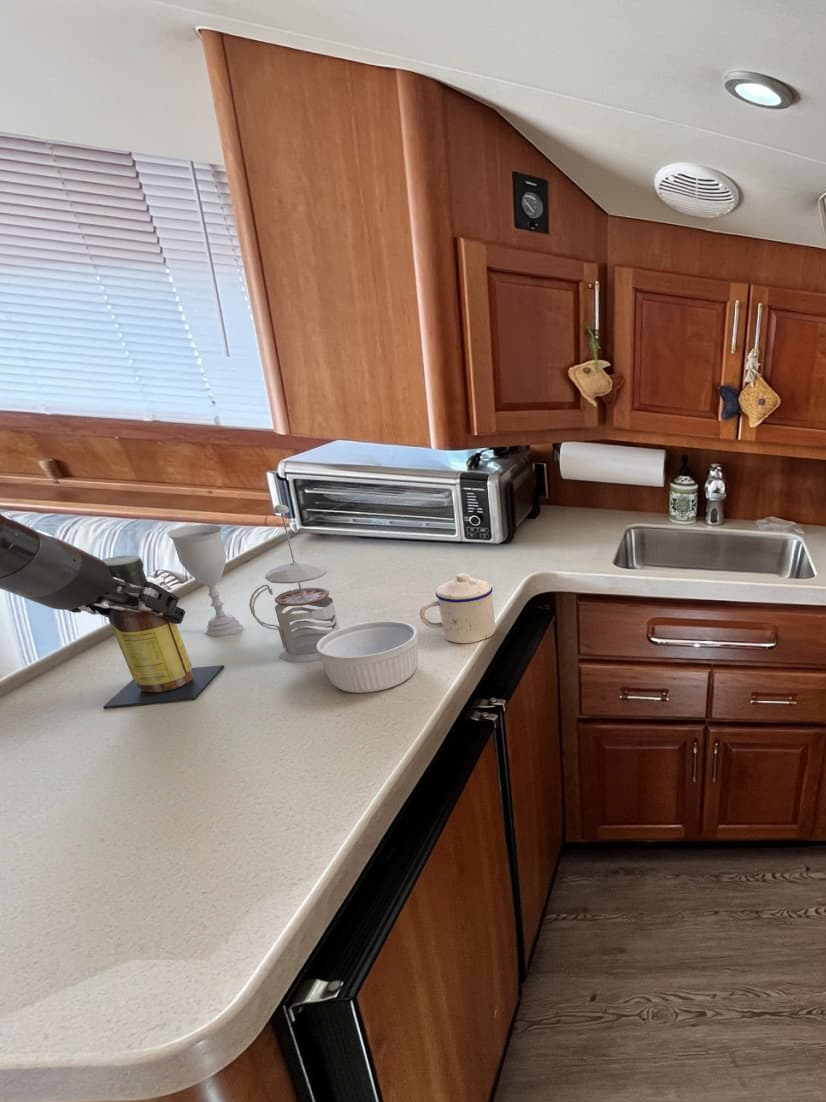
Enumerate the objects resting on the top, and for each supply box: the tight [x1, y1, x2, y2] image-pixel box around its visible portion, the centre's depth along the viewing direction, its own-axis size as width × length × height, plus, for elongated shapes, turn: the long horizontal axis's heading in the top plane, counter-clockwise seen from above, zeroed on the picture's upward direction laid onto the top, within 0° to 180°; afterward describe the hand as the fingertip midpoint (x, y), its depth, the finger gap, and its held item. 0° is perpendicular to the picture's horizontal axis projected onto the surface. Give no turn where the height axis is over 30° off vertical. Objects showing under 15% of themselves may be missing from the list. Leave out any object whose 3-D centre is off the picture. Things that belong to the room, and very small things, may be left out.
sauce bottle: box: [101, 554, 193, 693], centre depth 90 cm, size 6×6×20 cm
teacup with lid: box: [418, 572, 497, 644], centre depth 114 cm, size 12×9×12 cm
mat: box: [102, 664, 225, 710], centre depth 94 cm, size 10×10×1 cm
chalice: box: [166, 524, 244, 637], centre depth 107 cm, size 7×7×18 cm
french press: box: [249, 504, 340, 663], centre depth 102 cm, size 10×12×25 cm
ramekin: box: [316, 620, 419, 694], centre depth 100 cm, size 13×13×7 cm
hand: (154, 616), depth 91 cm, fingers closed on sauce bottle, 6 cm apart
